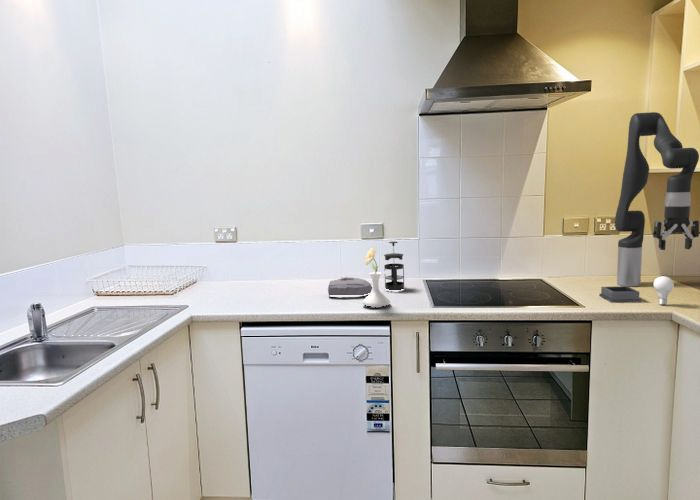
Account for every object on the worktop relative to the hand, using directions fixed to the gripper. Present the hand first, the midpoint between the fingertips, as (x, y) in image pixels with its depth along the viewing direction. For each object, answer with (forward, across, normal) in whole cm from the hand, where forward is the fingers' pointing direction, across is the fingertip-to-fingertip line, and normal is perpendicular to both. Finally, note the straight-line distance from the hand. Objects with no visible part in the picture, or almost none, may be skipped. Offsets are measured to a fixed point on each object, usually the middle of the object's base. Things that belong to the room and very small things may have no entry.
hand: (674, 249), depth 171 cm
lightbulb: (+22, +2, -2) cm, 22 cm away
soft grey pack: (+22, +122, -28) cm, 127 cm away
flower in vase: (+22, +110, -7) cm, 112 cm away
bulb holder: (+22, +13, -13) cm, 28 cm away
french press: (+22, +102, -37) cm, 111 cm away
